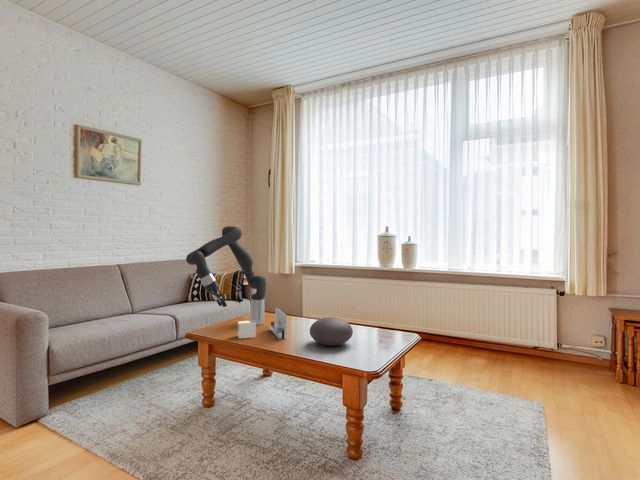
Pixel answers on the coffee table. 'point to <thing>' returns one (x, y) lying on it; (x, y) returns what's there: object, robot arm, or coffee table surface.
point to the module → (246, 329)
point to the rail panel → (279, 324)
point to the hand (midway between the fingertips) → (223, 306)
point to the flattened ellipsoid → (331, 331)
